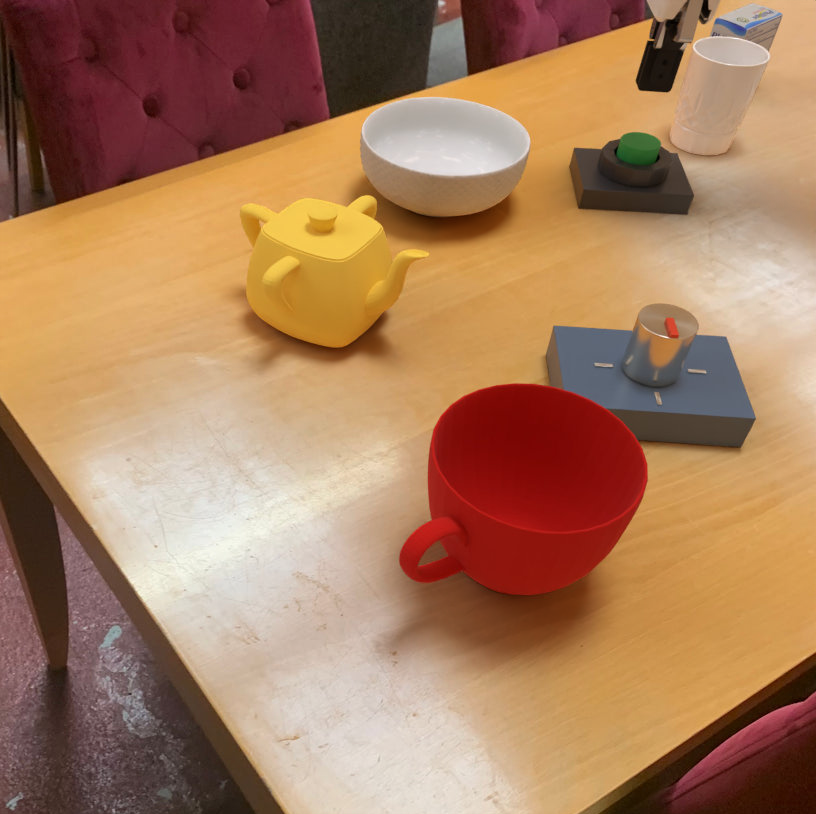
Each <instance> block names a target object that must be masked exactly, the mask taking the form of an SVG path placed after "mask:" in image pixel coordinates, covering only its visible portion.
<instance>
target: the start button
mask: <svg viewBox="0 0 816 814" xmlns="http://www.w3.org/2000/svg"><path fill="white" fill-rule="evenodd" d="M619 139H620V143H619V146H618V150H617V153H616V156H617V157H618V158H619V159H621V160H622V161H625V162H628V163H631V164H635V165H649V164H654V163H655V162H656V159H657V156H658V153H659V150H660V146H662V142H661V140H660V139H659V138H658V137H656V136H655V135H653V134H649V133H647V132H642V131H641V132H639V131H631V132H630V131H629V132H627V133H623V134H622V136H621V137H620V138H619Z"/></svg>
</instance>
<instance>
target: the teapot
mask: <svg viewBox="0 0 816 814" xmlns="http://www.w3.org/2000/svg"><path fill="white" fill-rule="evenodd" d="M377 211H378V201H377V199H376V198H375V197H374V196H372V195H369V194H366V195H361V196H360V197H358V198H356V199H355V200H354V201H352V202H351V203H350V204H349V205H348V206H345V205H342V204H338V203H335V202H331V201H328V200H323V199H320V198H313V197H312V198H311V197H304V198H300V199H298V200H296V201H294V202H293V203H290V204H289V205H288V206H286V207H284V209H283V210H281V211H279V212H278V213H277V212H275V211H274V210H271V208H268V207H266V206H264V205H261V204H258V203H255V202H254V203H253V202H250V203H249V202H247V203H246V204H244V205H242V206H241V208H240V210H239V220H240V223H241V225H242V229H243V231H244V233H245V235H246V237H247V239H248V241H249V243H250V245H251V246H252V251H251V256H250V259H249V262H248V268H247V274H246V284H245V285H246V286H245V288H246V289H245V290H246V291H245V292H246V293H245V294H246V298H247V302H248V304H249V306H250V308H251V309H252V311H253V312H254V313H255V314H256V316H257V317H258V318H259V319H261V320H262V321H263V322H265V323H266V324H268V325H270V326H271V327H273V328H274V329H276V330H278V331H280V332H282V333H284V334H286V335H288V336H289V337H293V338H295V339H298V340H301V341H304V342H308V343H311V344H315V345H318V346H324V347H328V348H334V349H335V348H343V347H346V346H348V345H350V344H351V343H353V342H355V340H357V339H358V338H359V337H360V336H362V335H363V334H365V332H366V331H367V330H369V329H370V328H371V327H372V326H373V325H374V324H375V323H376V321H377V320H378V319H379V318H380V317H381V316H382V314H383V313H384V312H386V311H388V310H389V309H390V308H392V307H393V306H394V305H395V303H397V301H398V300H399V298H400V296H401V294H402V293H403V292H402V291H403V289H404V286H405V281H406V276H407V274H408V273H407V272H408V270H409V268H410V266H411V265H412V264H413V263H415V262H416V261H419V260H422V259H425V258H427V257H429V255H430V253H429V252H428V251H425V250H422V249H414V248H413V249H411V248H410V249H405V250H402V251H400V252H398V254H396V255H395V257H394V258H393V257H392V253H391V248H390V246H389V242H388V238H387V235H386V232H385V228H384V227H383V226H382V224H381V223H380V222H378V221H377V220H376V215H377ZM260 222H262V223H264V225H263V226H261V224H260Z"/></svg>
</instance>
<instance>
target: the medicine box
mask: <svg viewBox="0 0 816 814" xmlns="http://www.w3.org/2000/svg"><path fill="white" fill-rule="evenodd" d="M783 17H784V14H783V13H782V12H780V11H777V10H775V9H773V8H770V7H767V6H764V5H761V4H757V3H754V2H751V3H748V4H746V5H744V6H741V7H739V8H737V9H736V8H735V9H734V10H732V11H728V12H727V13H725V14H722V15H720V16H718V17H716V18H715V19H714V22H713V25H712V28H711V31H710V34H709V37H715V36H723V37H733V38H739V39H744V40H747V41H751V42H753V43H756V44H758V45H760V46H762V47H764V48H765V49H766V50H767V51H768V52H769V53H770V50H771V47H772V44H773V42H774V41H775V37H776V35H777V32H778V30H779V28H780V24H781V21H782V19H783Z"/></svg>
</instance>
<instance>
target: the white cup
mask: <svg viewBox="0 0 816 814" xmlns="http://www.w3.org/2000/svg"><path fill="white" fill-rule="evenodd" d="M770 60H771V54H770V51H769V52H768V51H767V50H766V49H765V48H764V47H762V46H760V45H758V44H756V43H753V42H751V41H747V40H744V39H739V38H733V37H723V36H715V37H710V36H707V37H702V38H700V39H698V40H696V41H694V42H693V44H692V47H691V50H690V54H689V57H688V62H687V65H686V68H685V72H684V76H683V80H682V83H681V86H680V90H679V96H678V100H677V103H676V107H675V111H674V117H673V121H672V124H671V127H670V131H669V135H668V136H669V140H670V143H671V144H672V145H673V146H675V147H676V148H677V149H678V150H681V151H684V152H686V153H689V154H693V155H698V156H719V155H722V154H724V153H727V152H728V151H729V149H730V148H731V147H732V145H733V143H734V140H735V137H736V135H737V133H738V130H739V128H740V127H741V126H742V124H743V121H744V118H745V117H746V115H747V112H748V110H749V108H750V107H751V103H752V102H753V99H754V97H755V94H756V92H757V89H758V88H759V85H760V82H761V80H762V78H763V76H764V73H765V71H766V68H767V67H768V64H769V62H770Z"/></svg>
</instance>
